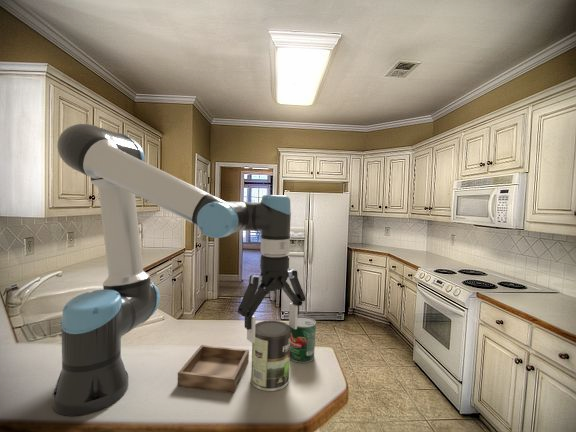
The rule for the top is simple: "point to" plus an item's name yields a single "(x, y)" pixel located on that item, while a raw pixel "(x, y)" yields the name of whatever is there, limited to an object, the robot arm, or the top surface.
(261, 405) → the top surface
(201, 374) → the tray
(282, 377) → the coffee can
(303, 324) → the canned tomato
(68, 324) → the robot arm
